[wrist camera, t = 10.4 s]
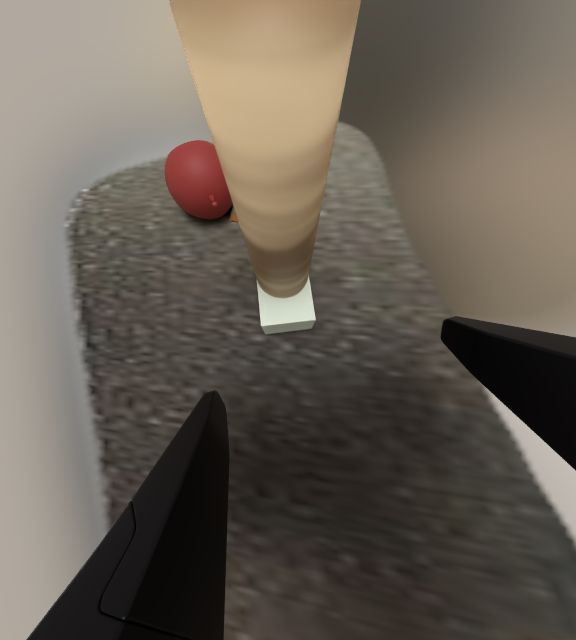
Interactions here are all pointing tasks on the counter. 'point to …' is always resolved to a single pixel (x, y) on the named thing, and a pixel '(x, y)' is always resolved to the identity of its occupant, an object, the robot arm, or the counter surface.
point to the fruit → (197, 180)
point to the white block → (286, 311)
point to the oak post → (271, 116)
